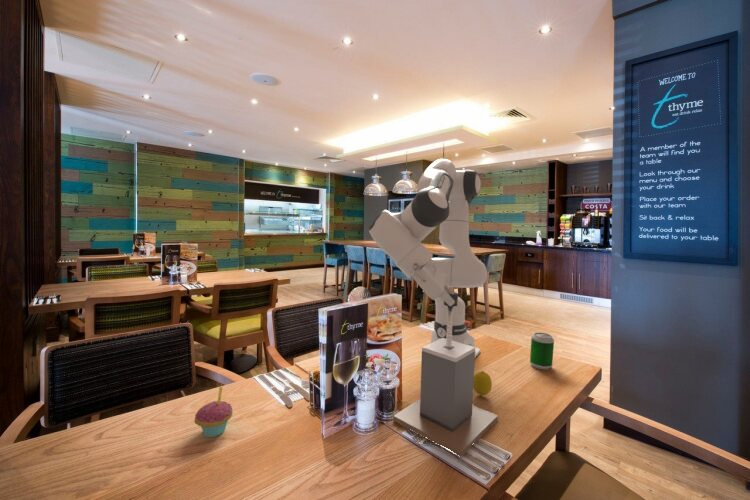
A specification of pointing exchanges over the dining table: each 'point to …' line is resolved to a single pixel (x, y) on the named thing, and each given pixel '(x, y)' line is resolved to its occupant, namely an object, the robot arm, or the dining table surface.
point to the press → (447, 399)
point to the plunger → (450, 319)
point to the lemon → (482, 383)
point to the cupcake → (214, 416)
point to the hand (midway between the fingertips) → (453, 301)
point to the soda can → (541, 351)
